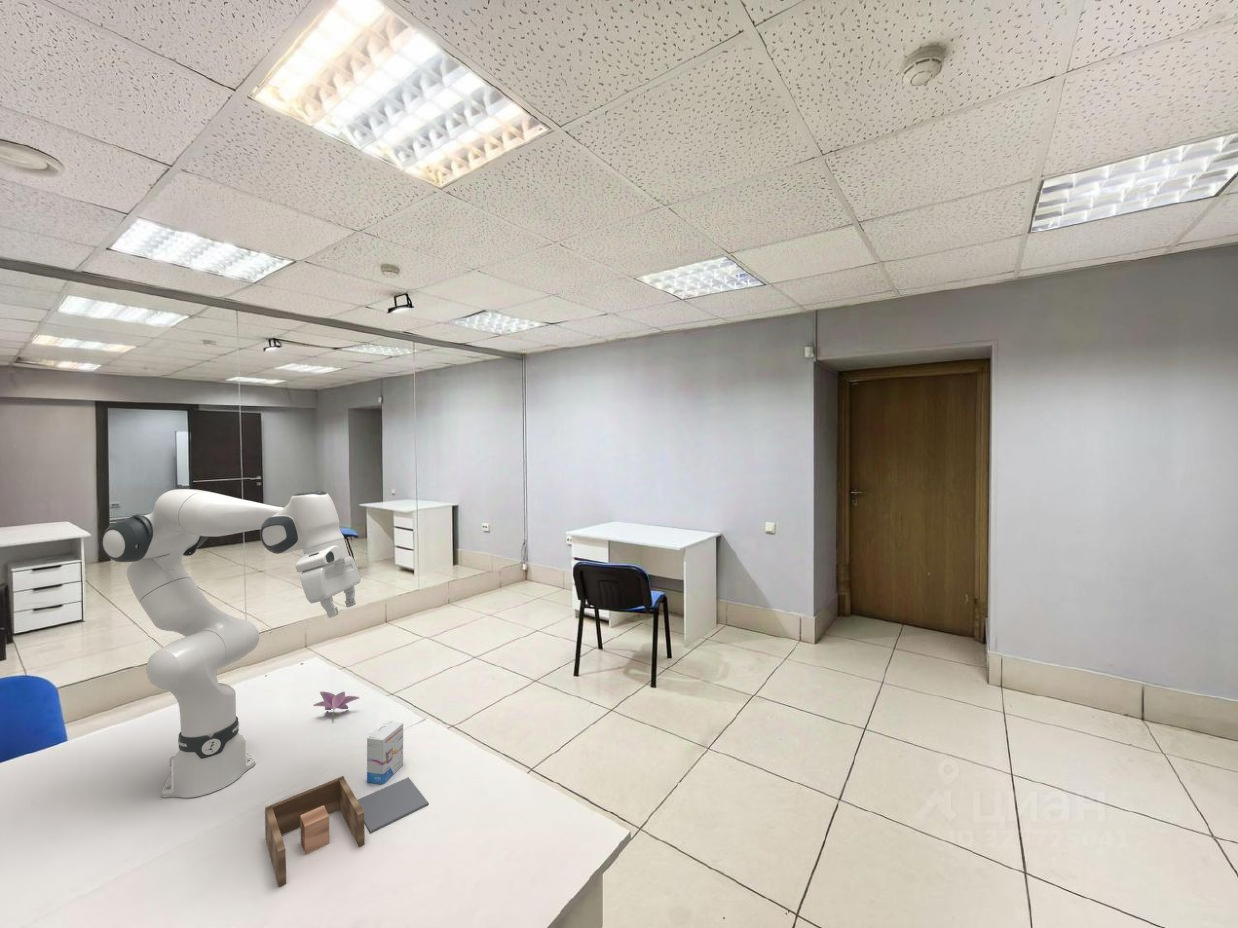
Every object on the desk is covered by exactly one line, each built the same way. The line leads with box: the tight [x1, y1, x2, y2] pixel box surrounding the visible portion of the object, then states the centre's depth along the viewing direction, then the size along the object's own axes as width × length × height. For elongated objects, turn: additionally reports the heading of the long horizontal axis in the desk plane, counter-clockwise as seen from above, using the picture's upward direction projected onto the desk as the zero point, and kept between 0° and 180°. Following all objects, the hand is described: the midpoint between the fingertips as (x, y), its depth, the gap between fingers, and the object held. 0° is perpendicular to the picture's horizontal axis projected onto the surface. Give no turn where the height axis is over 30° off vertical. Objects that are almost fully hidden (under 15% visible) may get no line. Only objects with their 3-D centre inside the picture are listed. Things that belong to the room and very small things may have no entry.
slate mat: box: [357, 776, 430, 834], centre depth 119 cm, size 13×13×1 cm
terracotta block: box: [300, 805, 331, 855], centre depth 107 cm, size 4×4×6 cm
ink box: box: [366, 720, 404, 785], centre depth 130 cm, size 9×5×12 cm, turn 168°
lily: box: [312, 691, 360, 722], centre depth 158 cm, size 12×12×10 cm
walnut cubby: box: [264, 775, 366, 888], centre depth 107 cm, size 17×15×7 cm
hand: (342, 611), depth 119 cm, fingers open, 8 cm apart
